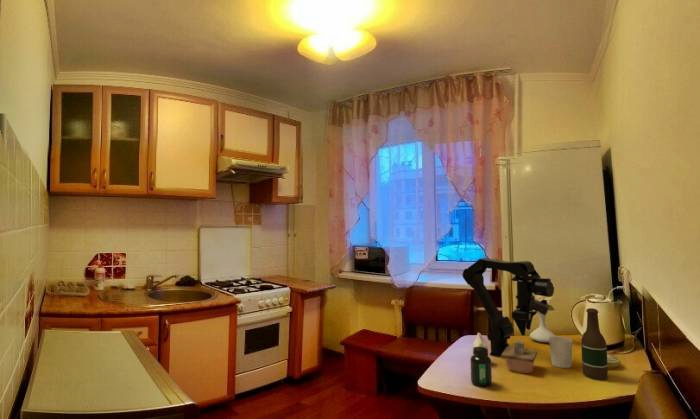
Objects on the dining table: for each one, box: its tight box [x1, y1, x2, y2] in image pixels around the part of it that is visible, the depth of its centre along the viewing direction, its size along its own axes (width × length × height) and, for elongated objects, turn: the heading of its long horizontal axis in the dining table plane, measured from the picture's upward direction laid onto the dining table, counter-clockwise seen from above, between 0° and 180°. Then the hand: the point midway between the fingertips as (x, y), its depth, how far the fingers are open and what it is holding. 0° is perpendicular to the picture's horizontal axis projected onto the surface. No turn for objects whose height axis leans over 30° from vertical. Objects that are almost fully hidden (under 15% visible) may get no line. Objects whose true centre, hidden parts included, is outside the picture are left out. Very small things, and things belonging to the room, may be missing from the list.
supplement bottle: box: [470, 347, 493, 388], centre depth 131 cm, size 7×7×12 cm
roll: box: [472, 332, 489, 350], centre depth 150 cm, size 6×12×6 cm
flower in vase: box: [529, 294, 556, 343], centre depth 175 cm, size 13×11×25 cm
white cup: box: [548, 335, 573, 369], centre depth 146 cm, size 8×8×10 cm
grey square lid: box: [500, 340, 538, 363], centre depth 144 cm, size 11×11×5 cm
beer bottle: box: [580, 307, 609, 381], centre depth 136 cm, size 8×8×24 cm
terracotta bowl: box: [505, 358, 535, 374], centre depth 144 cm, size 9×9×5 cm
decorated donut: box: [607, 353, 622, 370], centre depth 146 cm, size 10×11×4 cm
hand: (525, 332), depth 150 cm, fingers open, 9 cm apart
